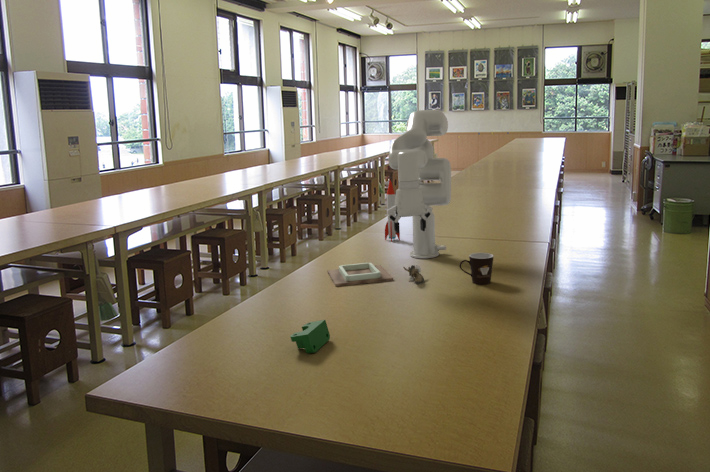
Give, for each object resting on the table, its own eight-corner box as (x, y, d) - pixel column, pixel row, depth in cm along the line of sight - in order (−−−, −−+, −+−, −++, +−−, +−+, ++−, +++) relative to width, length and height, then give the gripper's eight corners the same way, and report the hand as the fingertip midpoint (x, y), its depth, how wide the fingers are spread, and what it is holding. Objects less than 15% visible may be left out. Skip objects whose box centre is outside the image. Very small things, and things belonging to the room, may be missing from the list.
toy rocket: (400, 240, 278) (398, 180, 272) (391, 242, 275) (389, 181, 269) (393, 238, 282) (391, 179, 276) (384, 240, 279) (382, 180, 273)
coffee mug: (494, 279, 206) (494, 253, 204) (492, 286, 198) (492, 258, 196) (462, 278, 209) (462, 252, 207) (459, 284, 202) (458, 257, 199)
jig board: (380, 267, 230) (380, 260, 229) (393, 280, 211) (393, 272, 210) (327, 272, 226) (327, 265, 225) (335, 286, 207) (335, 278, 206)
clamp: (313, 355, 158) (310, 322, 161) (331, 352, 156) (328, 319, 158) (289, 355, 148) (287, 320, 150) (309, 352, 145) (306, 317, 148)
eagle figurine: (398, 276, 212) (405, 278, 203) (406, 259, 213) (414, 260, 204) (415, 285, 213) (422, 287, 204) (423, 268, 214) (431, 270, 205)
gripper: (428, 182, 208) (429, 227, 212) (383, 185, 205) (384, 231, 209) (435, 184, 201) (435, 231, 204) (388, 188, 198) (390, 235, 201)
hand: (410, 231), depth 207 cm, fingers open, 9 cm apart
